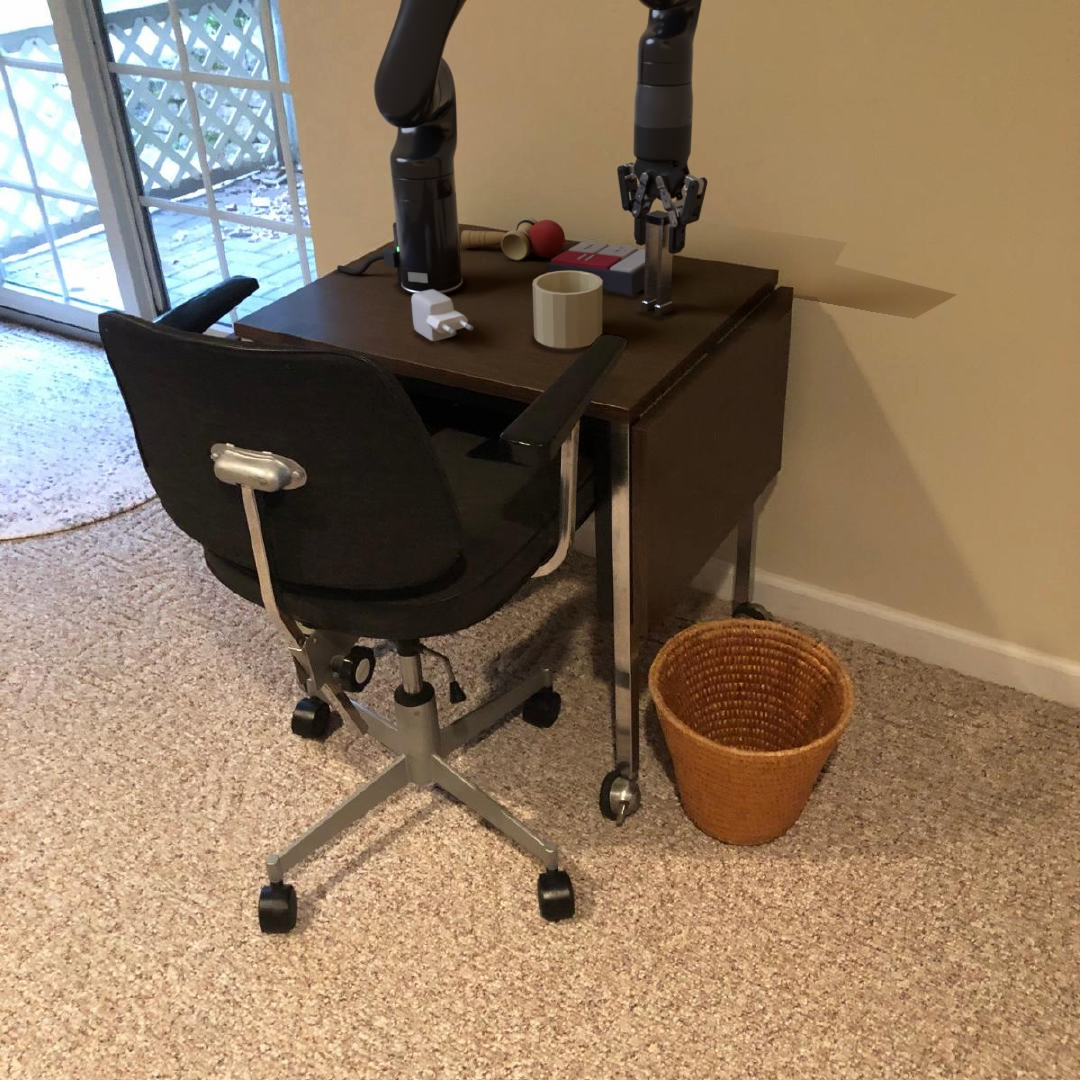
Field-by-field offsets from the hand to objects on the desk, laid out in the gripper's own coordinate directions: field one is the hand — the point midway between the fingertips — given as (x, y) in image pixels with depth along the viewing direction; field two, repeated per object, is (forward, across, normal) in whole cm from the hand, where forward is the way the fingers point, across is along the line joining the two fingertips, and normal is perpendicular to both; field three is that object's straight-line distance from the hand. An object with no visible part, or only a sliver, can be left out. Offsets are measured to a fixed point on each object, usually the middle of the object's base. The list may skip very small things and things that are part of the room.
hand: (658, 247), depth 148 cm
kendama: (+10, +35, -5) cm, 37 cm away
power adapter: (+10, +15, +27) cm, 32 cm away
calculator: (+10, +15, -6) cm, 19 cm away
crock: (+10, +3, +15) cm, 18 cm away
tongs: (+10, 0, 0) cm, 10 cm away
